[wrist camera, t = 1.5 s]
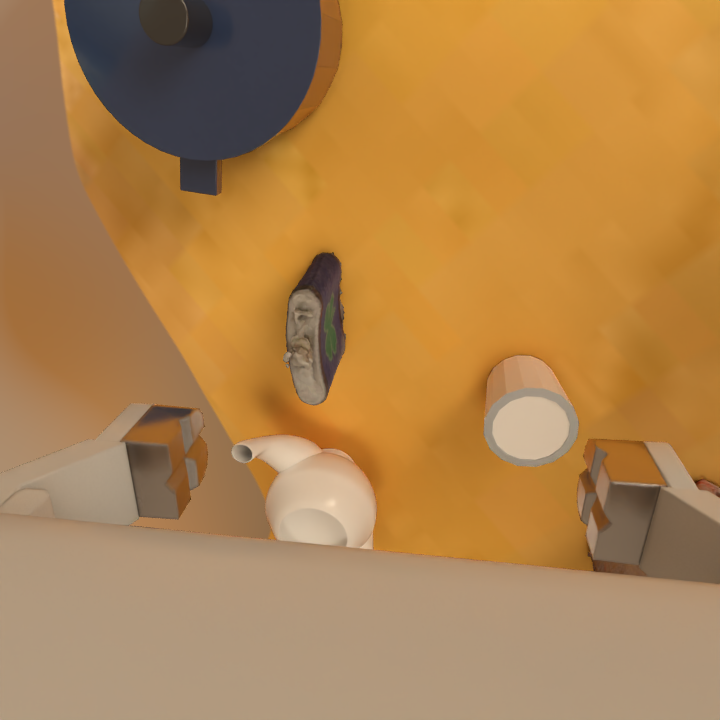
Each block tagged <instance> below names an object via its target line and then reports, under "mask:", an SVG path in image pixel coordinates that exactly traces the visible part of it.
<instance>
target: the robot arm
mask: <svg viewBox="0 0 720 720" xmlns="http://www.w3.org/2000/svg"><path fill="white" fill-rule="evenodd" d="M204 427H205V426H204V419H203V413H202V412H201V411H200V409H198V408H188V407H177V406H166V405H155V404H145V403H132V404H129V405H128V406H127V407H126V408H125V410H123V412H122V413H121V414H120V415H119V416H118V417H117V418H116V419H115V420H114V421H113V422H112V423H111V424H110V425H109V426H108V427H107V428H106V429H105V430H104V431H103V432H102V433H101V434H100V435H99V436H98V437H97V438H96V439H95V440H90V439H87V440H85V441H82V442H80V443H77V444H74V445H72V446H69V447H67V448H64V449H61V450H59V451H56V452H53V453H51V454H49V455H46V456H43V457H41V458H38V459H36V460H33V461H30V462H27V463H25V464H22V465H20V466H17V467H14V468H12V469H9V470H7V471H4V472H1V473H0V720H720V498H719V497H717V496H716V495H714V494H712V493H710V492H709V491H706V490H699V489H698V487H697V486H696V484H695V483H694V481H693V480H692V478H691V476H690V475H689V473H688V472H687V470H686V468H685V467H684V465H683V464H682V462H681V461H680V459H679V457H678V456H677V454H676V453H675V451H674V449H673V448H672V446H671V445H670V444H668V443H667V442H649V441H629V440H609V439H588V441H587V443H586V446H585V450H584V455H583V457H584V460H585V463H586V466H587V469H585V470H584V471H583V472H582V473H581V474H580V475H579V481H578V487H577V507H578V513H579V516H580V520H581V521H582V522H583V523H585V524H586V525H587V530H586V535H585V536H586V539H587V542H588V545H589V549H590V552H591V555H592V558H593V560H600V561H608V562H616V563H624V564H632V565H639V568H640V569H641V570H642V571H643V572H644V573H645V574H646V575H647V576H648V577H645V576H635V575H625V574H615V573H605V572H594V571H584V570H574V569H564V568H554V567H544V566H534V565H524V564H513V563H503V562H493V561H483V560H473V559H463V558H453V557H442V556H432V555H422V554H412V553H402V552H392V551H382V550H372V549H362V548H351V547H341V546H331V545H321V544H311V543H301V542H291V541H281V540H271V539H260V538H250V537H240V536H230V535H219V534H210V533H200V532H189V531H179V530H169V529H159V528H149V527H139V526H129V525H130V524H132V523H133V522H135V521H136V520H138V519H139V517H151V518H166V519H179V518H180V516H181V514H182V513H183V511H184V510H185V508H186V506H187V505H188V503H189V502H190V500H191V496H190V490H192V489H194V488H196V487H198V486H199V485H200V483H201V481H202V480H203V478H204V475H205V471H206V468H207V460H208V459H207V458H208V451H207V444H206V443H205V441H204V440H203V439H202V438H201V437H200V435H199V434H200V433H201V431H202V430H203V428H204Z"/></svg>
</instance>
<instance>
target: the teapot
mask: <svg viewBox="0 0 720 720" xmlns="http://www.w3.org/2000/svg"><path fill="white" fill-rule="evenodd" d="M231 453H232V456H233V458H234V459H235V460H236V461H238V462H241V463H248V462H250V461H251V460H252V459H254V458H258V459H261V460H263V461H264V462H266V463H267V464H268V465H270V466H271V467H272V468H273V469H274V470H276V471H277V472H278V474H277V476H276V477H275V478H274V480H273V482H272V484H271V486H270V488H269V490H268V493H267V497H266V502H265V511H266V517H267V520H268V523H269V525H270V528H271V530H272V532H273V534H274V536H275V538H276V540H281V541H291V542H301V543H311V544H321V545H331V546H341V547H351V548H362V549H372V550H373V529H374V526H375V522H376V516H377V503H376V497H375V493H374V490H373V488H372V485H371V483H370V481H369V479H368V478H367V476H366V475H365V473H364V472H363V471H362V470H361V469H360V468H359V467H358V466H357V465H356V464H355V463H354V461H353V459H352V458H351V457H350V456H349V455H347V454H346V453H344V452H342V451H340V450H337V449H321V448H320V447H319V446H317V445H316V444H315V443H314V442H312V441H310V440H308V439H305V438H302V437H299V436H294V435H283V434H282V435H269V436H262V437H257V438H251V439H246V440H243V441H240V442H238V443H236V444H235V445H234V446H233V447H232V450H231Z"/></svg>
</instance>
